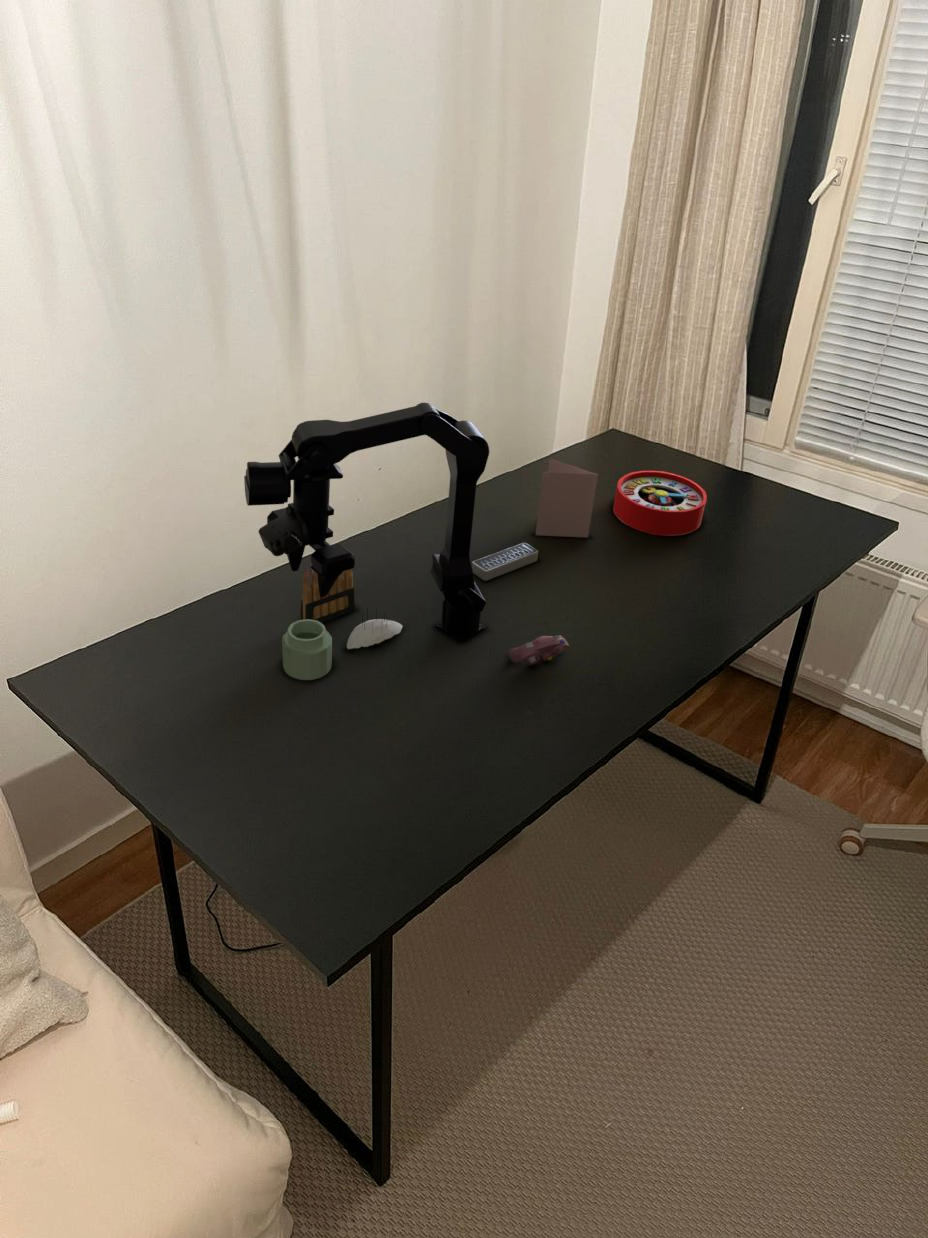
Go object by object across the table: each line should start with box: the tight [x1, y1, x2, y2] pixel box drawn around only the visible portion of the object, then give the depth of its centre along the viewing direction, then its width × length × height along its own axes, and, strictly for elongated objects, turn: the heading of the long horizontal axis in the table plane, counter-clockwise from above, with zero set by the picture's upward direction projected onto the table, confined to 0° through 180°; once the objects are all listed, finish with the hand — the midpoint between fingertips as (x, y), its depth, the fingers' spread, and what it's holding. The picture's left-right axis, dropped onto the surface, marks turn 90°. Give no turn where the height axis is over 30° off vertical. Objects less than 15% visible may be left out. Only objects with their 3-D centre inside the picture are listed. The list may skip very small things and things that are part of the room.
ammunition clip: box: [300, 567, 356, 624], centre depth 181 cm, size 11×2×12 cm, turn 129°
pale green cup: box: [281, 619, 333, 681], centre depth 170 cm, size 8×8×8 cm
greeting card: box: [535, 458, 599, 538], centre depth 212 cm, size 11×7×15 cm, turn 58°
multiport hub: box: [471, 542, 539, 582], centre depth 203 cm, size 4×14×2 cm, turn 130°
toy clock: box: [612, 470, 708, 537], centre depth 225 cm, size 20×6×20 cm
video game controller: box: [508, 634, 570, 666], centre depth 176 cm, size 10×5×7 cm
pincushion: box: [346, 606, 403, 650], centre depth 178 cm, size 12×6×6 cm, turn 130°
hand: (308, 583), depth 169 cm, fingers open, 9 cm apart
